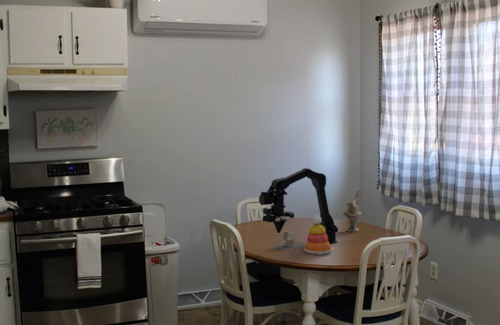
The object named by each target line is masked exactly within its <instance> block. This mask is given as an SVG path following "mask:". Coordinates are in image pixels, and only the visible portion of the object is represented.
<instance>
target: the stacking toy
mask: <svg viewBox="0 0 500 325" xmlns="http://www.w3.org/2000/svg"><path fill="white" fill-rule="evenodd" d="M312 223H313V224H312V225H311V226H310V228H309V230H308V235H307V239H306V240H307V242H305V243H306V245H305V247H304V248H303V249H304V251H305V253H306V254H307V253H308V254H310V255H318V256H322V255H326V254H329V253H331V252H332V250H333V248H332V246H331V244H330V243H329V242H328V236H327V234H326V230H325V228H324V227H323V226H322V225H320V223H321V217H320V214H319V215H318V214H314V216H313V217H312Z"/></svg>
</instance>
